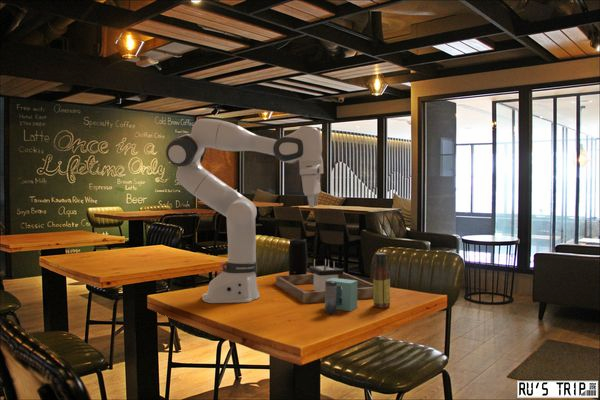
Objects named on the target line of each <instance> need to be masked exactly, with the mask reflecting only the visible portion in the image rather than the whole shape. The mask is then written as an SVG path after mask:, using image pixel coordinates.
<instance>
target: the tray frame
mask: <svg viewBox="0 0 600 400" xmlns="http://www.w3.org/2000/svg"><path fill="white" fill-rule="evenodd" d="M338 278H339V279H347V280H356V281H358V283H357V300H360V299H362V300H363V299H373V282H372V283H371V282H370V281H367V280H364V279H361V278H359V277H357V276H354V275H351V274H349V273H346V272H344V271H343V274H340V275H338ZM305 284H306V285H307V284H314V273H310V274H309V273H307V274H305V275H289V274H288V275H275V285H276V286H277V287H278V288H280V289H281V290H283V291H284V292H285V293H288V294H289V295H290V296H292V297H294V298H295V299H297V300H298V301H300V302H302V303H304V304H309V303H310V304H311V303H322V302H324V303H325V291H315V290H312V291H306V290H304V289H303V288H300V287H298V286H297V285H305ZM341 296H342V288H341Z"/></svg>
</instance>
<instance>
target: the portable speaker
mask: <svg viewBox="0 0 600 400" xmlns="http://www.w3.org/2000/svg"><path fill="white" fill-rule="evenodd" d="M307 245H308V244H307V239H306V238H303V239H302V238H301V239H299V238H298V239H297V238H291V239H289V245H288V246H289V247H288V275H305V274H308V246H307Z"/></svg>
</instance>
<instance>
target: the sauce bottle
mask: <svg viewBox="0 0 600 400" xmlns="http://www.w3.org/2000/svg"><path fill="white" fill-rule="evenodd" d="M374 257H375V266H374V269H373V271H372V284H373V298H372V299H373V306H375V308H381V309H386V308H389V307H390V306H391V279H390V269H389V268H388V266H387V253H386V252H375V254H374Z"/></svg>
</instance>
